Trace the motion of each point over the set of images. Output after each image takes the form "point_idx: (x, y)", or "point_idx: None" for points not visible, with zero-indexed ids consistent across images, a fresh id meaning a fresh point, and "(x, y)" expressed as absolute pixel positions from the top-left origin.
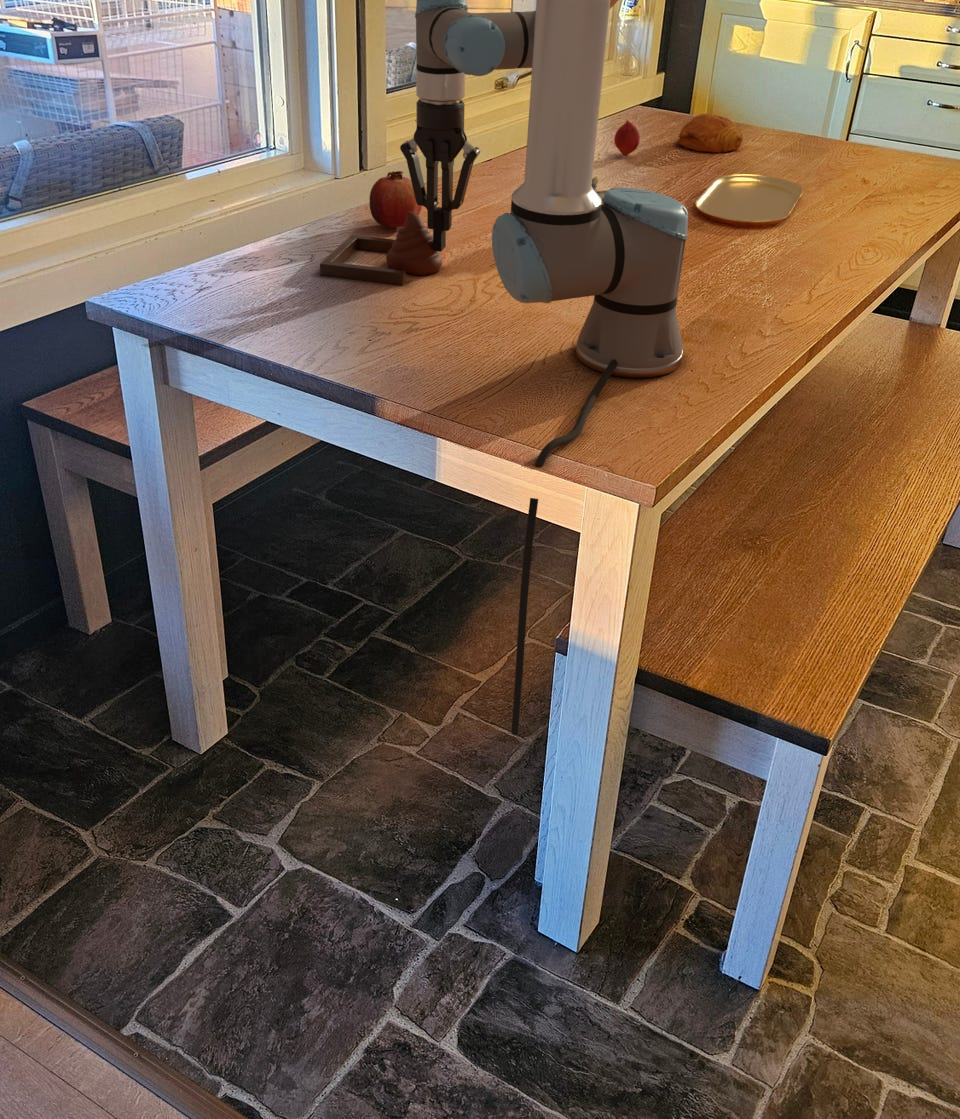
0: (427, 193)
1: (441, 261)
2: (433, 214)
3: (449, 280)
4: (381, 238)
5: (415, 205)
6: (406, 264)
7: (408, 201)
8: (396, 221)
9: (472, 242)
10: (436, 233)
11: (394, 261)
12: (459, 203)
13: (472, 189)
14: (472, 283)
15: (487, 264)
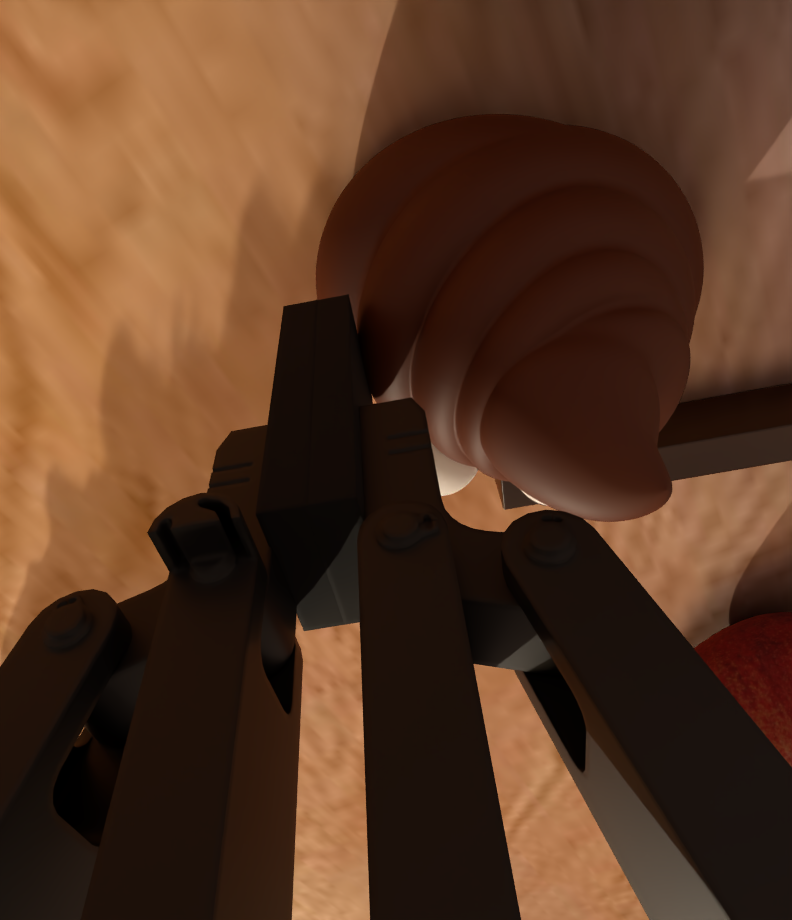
0: (459, 666)
1: None
2: (350, 475)
3: (191, 176)
4: (786, 455)
5: None
6: (505, 119)
7: None
8: (747, 636)
9: None
10: (319, 371)
11: (614, 137)
12: (8, 660)
13: (576, 890)
14: (33, 204)
15: (176, 494)
